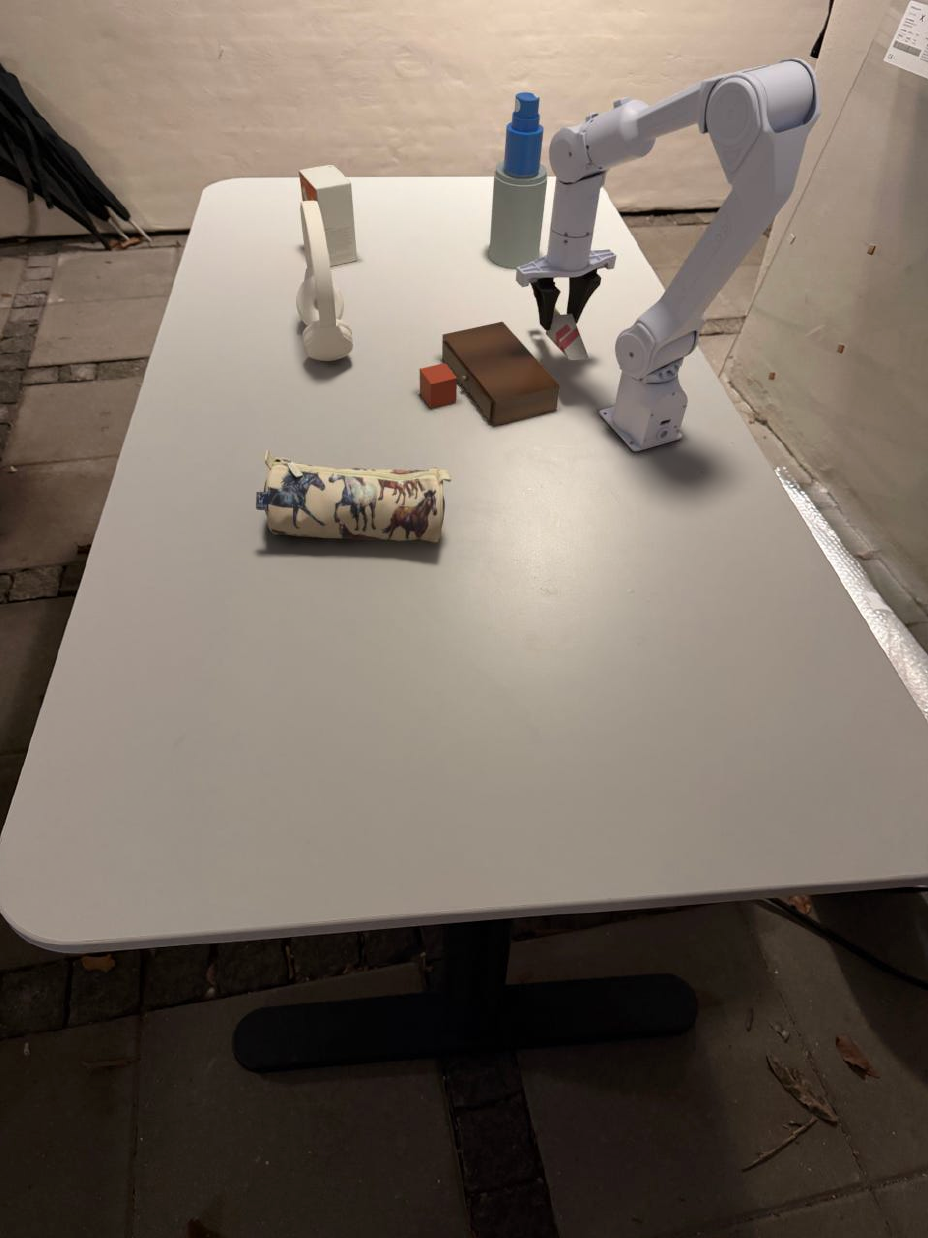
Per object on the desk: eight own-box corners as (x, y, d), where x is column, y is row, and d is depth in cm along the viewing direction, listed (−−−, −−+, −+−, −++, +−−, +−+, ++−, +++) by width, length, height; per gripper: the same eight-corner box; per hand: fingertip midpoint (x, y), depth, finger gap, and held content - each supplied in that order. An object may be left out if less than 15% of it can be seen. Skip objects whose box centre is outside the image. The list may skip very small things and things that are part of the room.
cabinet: (556, 409, 110) (560, 385, 107) (488, 427, 107) (490, 403, 104) (500, 344, 120) (502, 321, 117) (437, 359, 117) (437, 335, 114)
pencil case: (262, 550, 91) (247, 486, 83) (276, 500, 96) (263, 437, 89) (448, 559, 91) (449, 496, 84) (451, 509, 96) (453, 446, 89)
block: (457, 377, 108) (430, 384, 106) (456, 402, 111) (430, 408, 109) (445, 362, 110) (419, 368, 109) (444, 386, 113) (419, 393, 112)
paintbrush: (566, 350, 104) (528, 283, 117) (564, 368, 106) (526, 300, 119) (594, 347, 105) (552, 281, 118) (591, 366, 107) (550, 298, 120)
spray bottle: (502, 272, 135) (515, 108, 116) (480, 249, 140) (489, 88, 121) (547, 263, 138) (566, 101, 118) (524, 241, 143) (539, 82, 123)
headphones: (309, 380, 113) (290, 242, 97) (297, 315, 124) (278, 181, 108) (358, 375, 114) (347, 238, 98) (341, 311, 125) (329, 178, 110)
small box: (307, 247, 138) (297, 169, 128) (340, 241, 140) (333, 163, 130) (324, 268, 134) (315, 188, 124) (358, 261, 136) (352, 181, 126)
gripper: (603, 206, 106) (587, 300, 116) (509, 223, 102) (501, 319, 112) (631, 228, 102) (612, 324, 112) (534, 246, 98) (524, 344, 108)
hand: (558, 323), depth 112 cm, fingers closed on paintbrush, 4 cm apart
